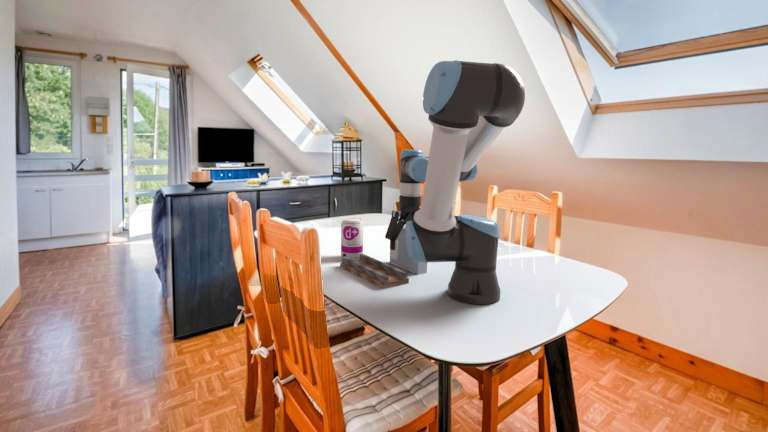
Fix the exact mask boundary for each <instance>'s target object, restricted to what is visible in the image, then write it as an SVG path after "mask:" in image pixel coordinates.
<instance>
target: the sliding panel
mask: <svg viewBox="0 0 768 432" xmlns="http://www.w3.org/2000/svg"><path fill="white" fill-rule="evenodd" d="M396 240H397V241H398V259H397V260H395V259H393V258H391V249H390V248H389V263H390V264H392V265H394V266H396V267H399V268H401V269H404V270H406V271H409V272H411V273H414V274H415V275H423V274H427V273H428V272H427V271H428V262H427V263H425V262H414V261H412V260H411V258H410V256H409V253H408V250H407V244H406V236H405V225H404V227H403V229H402V230H401V232H400V234H399V236H398V238H397V239H396Z"/></svg>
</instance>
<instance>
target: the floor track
mask: <svg viewBox="0 0 768 432" xmlns="http://www.w3.org/2000/svg"><path fill="white" fill-rule="evenodd" d="M341 258H342V260H341V261H342V262H340V265H339V267H340V268H342V269H344V270H346V271H348V272H349V273H351V274H354V275H355V276H357V277H360V278H361V279H363V280H365V281H367V282H369V283H371V284H373V285H375V286H377V287H378V288H381V289H382V290H384V289H388V288H393V287H398V286H402V285H407V284H409V282H410V279H409V277H408V273H407V272H406V271H404V270H402V269H399V268H397V267H395V266H392V265H390V264H388V263H385V262H383V261H381V260H379V259H376V258H374V257H371V256H369V255H367V254H365V253H363V254H360V259H359V260H352V259H350V258H348V257H346V256H344V257H341Z"/></svg>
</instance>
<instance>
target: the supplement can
mask: <svg viewBox="0 0 768 432" xmlns="http://www.w3.org/2000/svg"><path fill="white" fill-rule="evenodd" d="M340 228H341V229H340V230H341V231H340V233H341V234H340V257H341V258H342V257H344V256H346V257H348V258H350V259H352V260H359V259H360V254H364V222H363V220H362V218H359V217H345V218H343V219H342V221H341V223H340Z"/></svg>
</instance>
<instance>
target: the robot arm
mask: <svg viewBox="0 0 768 432" xmlns="http://www.w3.org/2000/svg"><path fill="white" fill-rule="evenodd" d="M423 88H424V89H423V94H422V97H423V100H422V108H423V111H424V112H425V114H427V115H428V121H429V122H430V124H431V126H433V128H432V133H431V134H432V135H431V141H430V147H429V154H428V156H424V152H423V150H421V149H403V150H401V152H400V159H399V161H400V164H399V165H400V166H399V167H400V168H399V194H400V195H399V196H398V197H399V199H398V205H399V210H392V211H391V218H390V221H389V224H388V226H387V231H386V232H385V236H384V238H385V239H387V240H389V250H390V249H391V258H393V259H395V260H397V259H398V241H397V240H396V239H397V238H398V236H399V234H400V232H401V230H402V229H403V227H404V226H405V236H406V244H407V250H408V253H409V256H410V258H411V260H412V261H414V262H425V263H427V264H428V263H447V262H448V263H449V262H450V263H452V262H453V263H455V264H454V270H453V272H452V275H451V276H450V277H451V278H450V281H449V282H448V283H447V284H448V285H447V295H448V296H449V297H451V298H452V299H454V300H456V301H459V302H462V303H464V304H465V303H466V304H472V305H489V304H494V303H496V302H498V301H499V300H500V299H501V291H502V290H501V287H500V285H499V281H498V276H497V275H498V274H497V260H498V252H499V251H498V250H499V239H500V236H499V235H500V232H499V231H500V229H499V225H498V222H497V221H495V220H492V219H490V218H486V217H482V216H477V215H470V214H459V215H457V216H458V218H457V220H458V221H456V219H455V217H454V216H455V215H453V212H454V208H455V204H456V198H457V197H456V196H457V194H458V189H459V182H466V181H467V182H469V181H473V180H474V179H476V176H477V174H478V162H479V160H480V159H481V158H482V156H484V154H486V152H487V151H488V149H489V148H490V147H491V145H492V144H493V143H494V142H495V140H496V139H497V138H498V137H499V135H500V134H501V132H502V131H503V130H504V128H505V129H506V128H508V127H510V126H511V125H513V124H514V123H515V121H516V120H517V119H518V118H519V116H520V114H521V113H522V112H523V111H522V110H523V109H524V105H525V100H526V91H525V85H524V83H523V81H522V79H521V76H520V75H519V74H518V72H516V71H515V70H514V69H513V68H511V67H510V66H508V65H506V64H504V63H503V64H502V63H498V62H497V63H495V62H494V63H489V62H488V63H487V62H475V61H463V60H456V59H455V60H440V61H438V62H437V63H435V64H434V65H433V66H432V68H431V69H430V71H429V72H428V75H427V77H426V81H425V85H424V87H423ZM423 182H424V185H423V184H422V183H423ZM422 186H423V191H422ZM422 192H423V193H422ZM421 195H422V196H421Z"/></svg>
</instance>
